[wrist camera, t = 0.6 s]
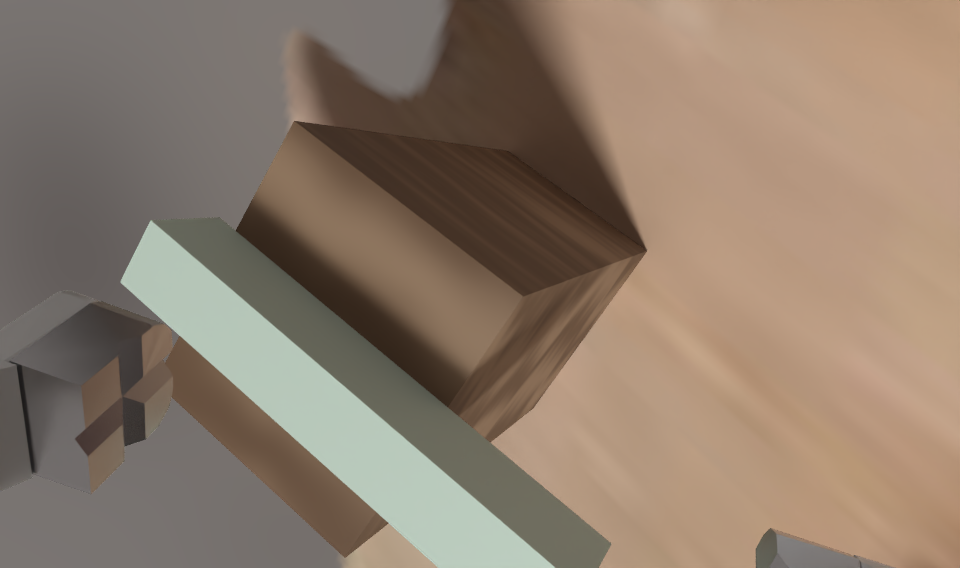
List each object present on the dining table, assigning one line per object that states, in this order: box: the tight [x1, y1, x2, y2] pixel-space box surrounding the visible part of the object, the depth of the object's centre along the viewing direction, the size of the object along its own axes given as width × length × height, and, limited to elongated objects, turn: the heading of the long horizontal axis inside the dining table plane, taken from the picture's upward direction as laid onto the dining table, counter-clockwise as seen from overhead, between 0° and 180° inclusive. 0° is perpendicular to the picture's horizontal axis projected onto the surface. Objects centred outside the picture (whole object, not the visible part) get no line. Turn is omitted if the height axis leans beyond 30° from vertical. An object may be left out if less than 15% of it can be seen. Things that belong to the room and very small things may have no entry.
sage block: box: [121, 217, 611, 568], centre depth 31 cm, size 3×21×4 cm, turn 55°
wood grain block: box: [165, 121, 647, 558], centre depth 46 cm, size 14×12×26 cm
